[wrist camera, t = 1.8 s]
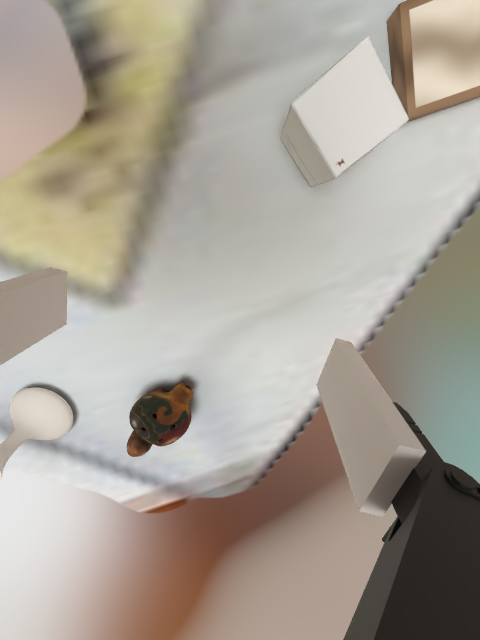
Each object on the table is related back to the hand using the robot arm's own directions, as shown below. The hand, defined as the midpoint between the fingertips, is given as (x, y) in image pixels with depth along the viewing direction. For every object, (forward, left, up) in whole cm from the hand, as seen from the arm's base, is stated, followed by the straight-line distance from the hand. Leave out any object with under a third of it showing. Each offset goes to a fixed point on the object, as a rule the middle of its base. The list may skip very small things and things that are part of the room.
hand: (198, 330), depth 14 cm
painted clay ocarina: (+23, -20, -29) cm, 42 cm away
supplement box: (-9, +14, -29) cm, 34 cm away
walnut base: (-13, +28, -29) cm, 42 cm away
